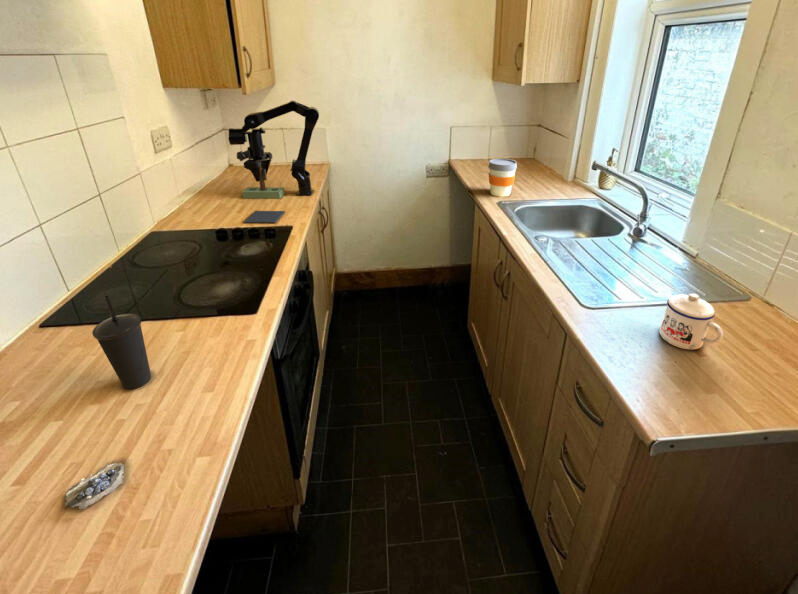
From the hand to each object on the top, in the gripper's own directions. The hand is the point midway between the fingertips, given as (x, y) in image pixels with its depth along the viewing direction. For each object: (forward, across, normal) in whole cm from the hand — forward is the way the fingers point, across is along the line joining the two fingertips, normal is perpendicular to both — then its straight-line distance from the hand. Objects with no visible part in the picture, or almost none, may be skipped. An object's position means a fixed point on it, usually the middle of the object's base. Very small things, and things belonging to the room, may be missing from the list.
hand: (261, 178), depth 187 cm
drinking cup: (+8, +117, +16) cm, 118 cm away
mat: (+8, +27, +10) cm, 30 cm away
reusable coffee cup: (+8, -6, +109) cm, 109 cm away
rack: (+8, 0, 0) cm, 8 cm away
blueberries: (+8, +139, +24) cm, 141 cm away
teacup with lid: (+9, +102, +134) cm, 169 cm away
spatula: (+8, 0, 0) cm, 8 cm away
